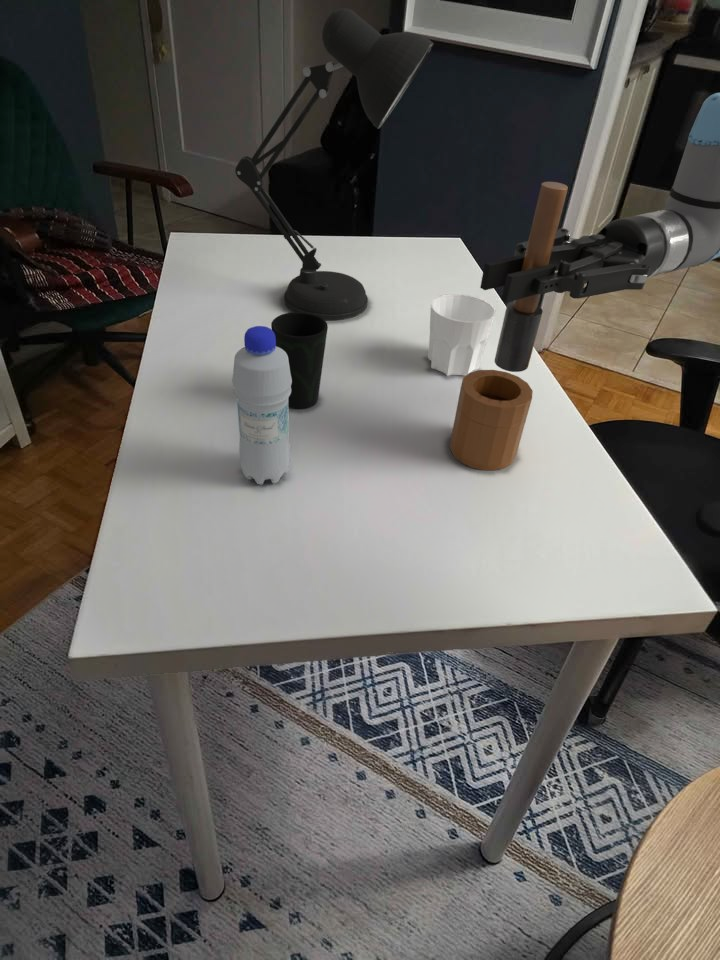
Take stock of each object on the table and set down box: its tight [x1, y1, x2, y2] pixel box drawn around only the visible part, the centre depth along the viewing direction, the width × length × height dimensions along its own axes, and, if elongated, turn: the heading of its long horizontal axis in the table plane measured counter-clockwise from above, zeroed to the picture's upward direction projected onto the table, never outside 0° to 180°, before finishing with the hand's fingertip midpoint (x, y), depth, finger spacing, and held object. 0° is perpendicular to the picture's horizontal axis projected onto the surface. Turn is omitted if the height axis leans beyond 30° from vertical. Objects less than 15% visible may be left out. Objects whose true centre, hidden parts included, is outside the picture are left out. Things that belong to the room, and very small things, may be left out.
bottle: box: [231, 325, 292, 485], centre depth 76 cm, size 7×7×20 cm
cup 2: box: [427, 293, 496, 377], centre depth 104 cm, size 10×10×10 cm
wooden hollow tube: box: [449, 369, 533, 471], centre depth 86 cm, size 9×9×10 cm
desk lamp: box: [234, 7, 434, 321], centre depth 107 cm, size 24×26×45 cm
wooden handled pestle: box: [494, 181, 569, 373], centre depth 70 cm, size 4×4×20 cm
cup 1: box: [270, 311, 329, 410], centre depth 92 cm, size 8×8×12 cm
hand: (495, 282), depth 67 cm, fingers closed on wooden handled pestle, 3 cm apart
